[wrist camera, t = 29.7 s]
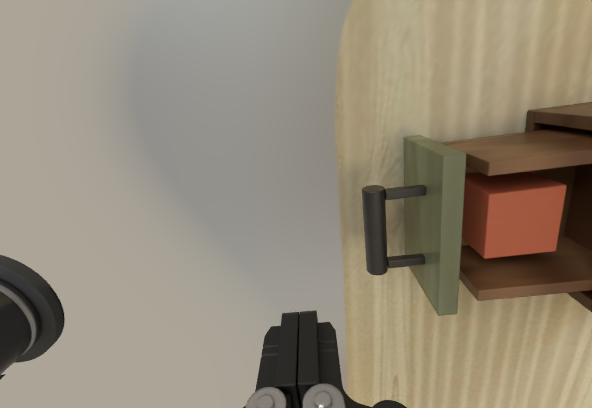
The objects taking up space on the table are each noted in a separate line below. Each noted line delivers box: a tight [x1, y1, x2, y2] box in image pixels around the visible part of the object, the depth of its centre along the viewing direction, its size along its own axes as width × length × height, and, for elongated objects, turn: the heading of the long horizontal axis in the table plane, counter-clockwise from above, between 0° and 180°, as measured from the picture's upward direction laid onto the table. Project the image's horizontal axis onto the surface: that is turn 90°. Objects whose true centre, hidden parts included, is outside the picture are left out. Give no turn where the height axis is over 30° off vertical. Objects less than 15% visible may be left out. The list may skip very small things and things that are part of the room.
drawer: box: [362, 127, 592, 316], centre depth 21 cm, size 16×10×7 cm, turn 98°
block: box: [462, 171, 567, 259], centre depth 21 cm, size 4×4×4 cm
